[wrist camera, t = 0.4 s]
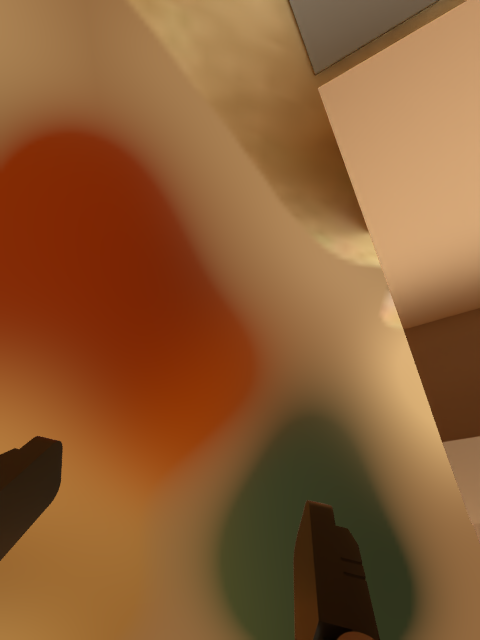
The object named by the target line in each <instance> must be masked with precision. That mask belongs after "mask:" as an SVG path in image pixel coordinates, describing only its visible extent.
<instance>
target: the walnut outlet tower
mask: <svg viewBox="0 0 480 640" xmlns="http://www.w3.org/2000/svg"><path fill="white" fill-rule="evenodd" d="M318 90H319V93H320V96H321V99H322V102H323V104H324V107H325V110H326V113H327V116H328V119H329V121H330V124H331V127H332V130H333V133H334V135H335V138H336V141H337V144H338V147H339V149H340V152H341V155H342V158H343V161H344V163H345V166H346V169H347V172H348V175H349V177H350V180H351V183H352V186H353V189H354V192H355V194H356V197H357V200H358V203H359V206H360V208H361V211H362V214H363V217H364V220H365V222H366V225H367V228H368V231H369V234H370V236H371V239H372V242H373V245H374V248H375V251H376V253H377V256H378V259H379V262H380V265H381V267H382V270H383V273H384V276H385V279H386V281H387V284H388V287H389V290H390V293H391V295H392V298H393V301H394V304H395V307H396V310H397V312H398V315H399V318H400V321H401V324H402V326H403V329H404V332H405V335H406V338H407V341H408V344H409V346H410V350H411V352H412V355H413V358H414V361H415V364H416V367H417V370H418V373H419V376H420V379H421V381H422V385H423V387H424V390H425V393H426V396H427V399H428V402H429V405H430V408H431V411H432V414H433V417H434V420H435V422H436V425H437V428H438V431H439V434H440V437H441V440H442V443H443V446H444V448H445V451H446V454H447V457H448V460H449V462H450V465H451V468H452V471H453V474H454V476H455V479H456V482H457V485H458V487H459V490H460V493H461V496H462V499H463V501H464V504H465V507H466V510H467V513H468V515H469V518H470V521H471V524H473V526H474V528H475V531H476V534H477V537H478V540H479V543H480V0H467V1H465V2H463V3H462V4H460V5H458V6H457V7H455V8H453V9H452V10H450V11H448V12H446V13H445V14H443V15H441V16H440V17H438V18H436V19H435V20H433V21H431V22H429V23H428V24H426V25H424V26H423V27H421V28H419V29H417V30H416V31H414V32H412V33H411V34H409V35H407V36H406V37H404V38H402V39H400V40H399V41H397V42H395V43H394V44H392V45H390V46H389V47H387V48H385V49H383V50H382V51H380V52H378V53H377V54H375V55H373V56H371V57H370V58H368V59H366V60H365V61H363V62H361V63H360V64H358V65H356V66H354V67H353V68H351V69H349V70H348V71H346V72H344V73H343V74H341V75H339V76H337V77H336V78H334V79H332V80H331V81H329V82H327V83H326V84H324V85H322V86H320V87H319V88H318Z"/></svg>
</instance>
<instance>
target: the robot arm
mask: <svg viewBox="0 0 480 640" xmlns="http://www.w3.org/2000/svg"><path fill="white" fill-rule="evenodd" d="M61 468H62V443H61V442H60V441H57V440H52V439H49V438H44V437H40V436H37V437H35V438H33V439H32V440H31V441H29V442H28V443H27V444H25V445H24V446H23V447H22V448H20V449H16V448H15V449H12V450H10V451H8V452H5V453H4V454H1V455H0V561H1V559H2V558H3V557H4V556H5V555H6V554H7V553H8V551H9V550H10V549H11V548H12V547H13V546H14V545H15V543H16V542H17V541H18V540H19V539H20V538H21V537H22V535H23V534H24V533H25V532H26V531H27V530H28V529H29V527H30V526H31V525H32V524H33V523H34V522H35V521H36V519H37V518H38V517H39V516H40V515H41V514H42V513H43V512H44V510H45V509H46V508H47V507H48V506H49V504H51V502H52V501H53V500H54V498H55V496H56V494H57V492H58V490H59V487H60V483H61ZM293 564H294V609H295V610H294V612H295V613H294V614H295V640H380V638H379V634H378V630H377V625H376V621H375V616H374V612H373V608H372V604H371V599H370V595H369V591H368V586H367V582H366V581H365V573H364V569H363V566H362V560H361V555H360V551H359V547H358V544H357V542H356V541H355V539H354V538H353V536H352V535H351V533H350V532H349V530H348V529H347V528H343V527H339V526H335V520H334V514H333V508H332V506H330V505H326V504H322V503H318V502H313V501H309V500H307V501H306V504H305V507H304V511H303V515H302V519H301V522H300V526H299V530H298V534H297V538H296V543H295V549H294V563H293Z"/></svg>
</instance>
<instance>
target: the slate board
mask: <svg viewBox="0 0 480 640" xmlns="http://www.w3.org/2000/svg"><path fill="white" fill-rule="evenodd" d="M289 1H290V4H291V7H292V10H293V13H294V16H295V18H296V21H297V24H298V27H299V30H300V33H301V35H302V38H303V41H304V44H305V47H306V50H307V52H308V55H309V58H310V61H311V64H312V66H313V69H314V72H315V75H317V74H318V73H320V72H322V71H323V70H325V69H327V68H328V67H330V66H332V65H333V64H335V63H336V62H338V61H340V60H341V59H343V58H345V57H346V56H348V55H350V54H351V53H353V52H355V51H356V50H358V49H360V48H361V47H363V46H365V45H366V44H368V43H370V42H371V41H373V40H375V39H376V38H378V37H380V36H381V35H383V34H385V33H386V32H388V31H390V30H391V29H393V28H394V27H396V26H398V25H399V24H401V23H403V22H404V21H406V20H408V19H409V18H411V17H413V16H414V15H416V14H418V13H419V12H421V11H423V10H424V9H426V8H428V7H429V6H431V5H433V4H434V3H436V2H438V1H439V0H289Z"/></svg>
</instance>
